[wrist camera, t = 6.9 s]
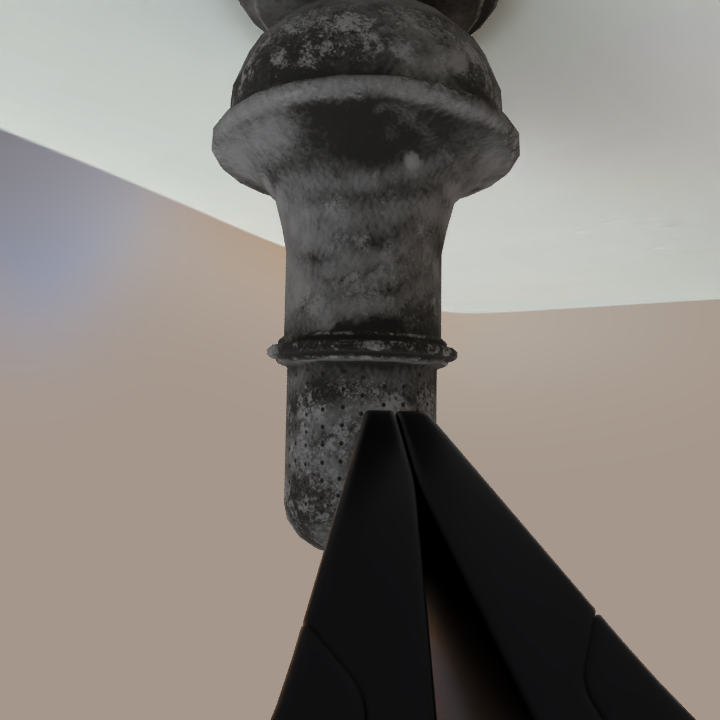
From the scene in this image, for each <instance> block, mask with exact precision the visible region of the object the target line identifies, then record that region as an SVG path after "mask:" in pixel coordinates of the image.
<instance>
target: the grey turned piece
mask: <svg viewBox="0 0 720 720" xmlns="http://www.w3.org/2000/svg"><path fill="white" fill-rule="evenodd" d="M239 1H240V4H241V5H242V7H243V8H244V10H245V11H246V12H247V14H248V15H249V17H250V18H251V20H252V21H253V22H254V24H256V25H257V26H258V27H259V28H260V29H261V30H263V31H264V33H263V34H262V35H261V36H260V38H259V39H258V40H257V42H256V43H255V44H254V46H253V47H252V49H251V50H250V52H249V54H248V56H247V58H246V60H245V62H244V64H243V66H242V68H241V70H240V72H239V74H238V77H237V79H236V81H235V83H234V85H233V90H232V97H231V108H230V109H229V110H228V111H227V112H226V113H225V114H224V116H223V117H222V118H221V119H220V120H219V122H218V123H217V124H216V125H215V127H214V128H213V139H212V152H213V153H214V155H215V157H216V159H217V160H218V162H219V164H220V166H221V167H222V168H223V169H224V170H225V171H226V172H227V173H229V174H230V175H231V176H232V177H234V178H235V179H236V180H237V181H239V182H240V183H242V184H244V185H246V186H248V187H250V188H252V189H254V190H257V191H259V192H261V193H263V194H266V195H270V196H271V197H272V198H273V199H274V200H275V201H276V204H277V208H278V212H279V217H280V221H281V225H282V229H283V235H284V241H285V247H286V286H285V287H286V288H285V326H284V336H283V337H282V338H281V339H280V340H279V341H278V344H275V345H272V346H271V347H269V348H268V350H267V355H268V356H269V357H271V358H273V359H276V361H277V362H278V363H279V364H281V365H284V366H286V367H287V368H288V369H287V409H286V449H285V450H286V453H285V489H284V505H285V510H286V515H287V519H288V521H289V522H290V524H291V525H292V527H293V528H294V529H295V531H296V533H297V534H298V535H299V536H300V537H301V538H302V539H304V540H305V541H307V542H308V543H309V544H311V545H312V546H314V547H316V548H318V549H320V550H324V549H325V546H326V542H327V539H328V536H329V532H330V529H331V525H332V522H333V518H334V515H335V512H336V508H337V505H338V501H339V498H340V495H341V491H342V488H343V484H344V481H345V478H346V474H347V471H348V467H349V464H350V460H351V457H352V454H353V450H354V447H355V443H356V440H357V437H358V433H359V430H360V426H361V423H362V420H363V416H364V414H365V412H366V411H368V410H391V411H393V412H394V413H395V414H396V413H397V412H398V411H424V412H426V413H427V414H429V415H430V417H431V418H432V419H433V420H434V421H435V422H436V379H437V376H436V375H437V372H436V371H437V369H439V368H443V367H445V366H446V365H447V364H448V362H452V361H454V360H455V359H456V358H457V352H456V351H455V350H454V349H453V348H449V347H447V344H446V343H445V342H444V341H443V340H442V339H441V254H442V249H443V245H444V240H445V235H446V231H447V227H448V224H449V220H450V217H451V213H452V210H453V206H454V203H455V202H457V201H458V200H459V199H460V198H463V197H467V196H469V195H472V194H474V193H476V192H479V191H481V190H483V189H485V188H488V187H490V186H491V185H493V184H494V183H495V182H497V181H498V180H500V179H501V178H502V177H504V176H505V175H506V174H507V173H508V172H509V171H510V170H511V168H512V167H513V165H514V163H515V162H516V160H517V159H518V157H519V156H520V149H519V132H518V131H517V130H516V128H515V127H514V125H513V124H512V123H511V121H510V120H509V119H508V117H507V116H506V115H505V114H504V113H503V112H502V100H501V90H500V88H499V85H498V83H497V81H496V78H495V76H494V74H493V72H492V69H491V67H490V65H489V63H488V60H487V58H486V56H485V54H484V53H483V51H482V50H481V48H480V46H479V45H478V43H477V42H476V40H475V39H474V38H473V37H472V36H471V34H473V33H474V32H475V31H476V30H478V29H479V28H480V27H481V26H482V25H483V23H484V22H485V21H486V19H487V18H488V17H489V16H490V14H491V13H492V12H493V10H494V9H495V8H496V5H497V2H498V0H239Z"/></svg>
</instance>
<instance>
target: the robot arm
mask: <svg viewBox="0 0 720 720" xmlns="http://www.w3.org/2000/svg"><path fill="white" fill-rule="evenodd" d="M271 720H695V718H694V717H693V716H692V715H691V714H690V713H689V712H688V711H687V710H686V709H685V708H684V707H683V706H682V705H681V704H680V703H679V702H678V701H677V700H676V699H675V698H674V697H673V696H672V695H671V694H670V693H669V692H668V691H667V689H666V688H665V687H664V686H663V685H661V684H660V682H659V681H658V680H657V679H656V678H655V677H654V676H653V675H652V673H651V672H650V671H649V670H648V669H647V668H646V667H645V666H644V664H643V663H642V662H641V661H640V660H639V659H638V658H637V657H636V656H635V654H634V653H633V652H632V651H631V650H630V649H629V648H628V647H627V645H626V644H625V643H624V642H623V641H622V640H621V639H620V637H619V636H618V635H617V634H616V633H615V632H614V630H613V629H612V628H611V627H610V626H609V625H608V623H607V622H606V621H605V620H604V619H603V618H602V616H601V615H595V609H594V607H593V606H592V605H591V604H590V603H589V602H588V601H587V599H586V598H585V597H584V596H583V594H582V593H581V592H580V591H579V590H578V589H577V588H576V586H575V585H574V584H573V583H572V582H571V580H570V579H569V578H568V577H567V576H566V575H565V574H564V572H563V571H562V570H561V569H560V568H559V566H558V565H557V564H556V563H555V562H554V561H553V559H552V558H551V557H550V556H549V555H548V554H547V552H546V551H545V550H544V549H543V548H542V546H541V545H540V544H539V543H538V542H537V541H536V539H535V538H534V537H533V536H532V535H531V534H530V533H529V531H528V530H527V529H526V528H525V527H524V526H523V524H522V523H521V522H520V521H519V520H518V518H517V517H516V516H515V515H514V514H513V513H512V512H511V510H510V509H509V508H508V507H507V506H506V504H505V503H504V502H503V501H502V500H501V499H500V497H499V496H498V495H497V494H496V493H495V491H494V490H493V489H492V488H491V487H490V486H489V484H488V483H487V482H486V481H485V480H484V479H483V477H482V476H481V475H480V474H479V473H478V472H477V470H476V469H475V468H474V467H473V466H472V465H471V463H470V462H469V461H468V460H467V459H466V458H465V456H464V455H463V454H462V453H461V452H460V451H459V449H458V448H457V447H456V446H455V445H454V444H453V442H452V441H451V440H450V439H449V438H448V436H447V435H446V434H445V433H444V432H443V431H442V429H441V428H440V427H439V426H438V425H437V424H436V422H435V421H434V420H433V419H432V418H431V417H430V415H429V414H427V413H426V412H424V411H398V412H397V413H396V414H395V413H394V412H393V411H391V410H368V411H366V412H365V414H364V416H363V420H362V423H361V426H360V430H359V433H358V437H357V440H356V443H355V447H354V450H353V454H352V457H351V460H350V464H349V467H348V471H347V474H346V478H345V481H344V484H343V488H342V491H341V495H340V498H339V501H338V505H337V508H336V512H335V515H334V518H333V522H332V525H331V529H330V532H329V536H328V539H327V542H326V546H325V549H324V553H323V556H322V560H321V563H320V567H319V570H318V573H317V577H316V580H315V583H314V587H313V590H312V594H311V597H310V600H309V604H308V607H307V611H306V614H305V617H304V622H303V627H301V630H300V633H299V637H298V640H297V643H296V647H295V650H294V654H293V657H292V660H291V663H290V666H289V669H288V673H287V675H286V679H285V682H284V685H283V687H282V690H281V694H280V697H279V700H278V703H277V705H276V708H275V710H274V713H273V715H272V718H271Z"/></svg>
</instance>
